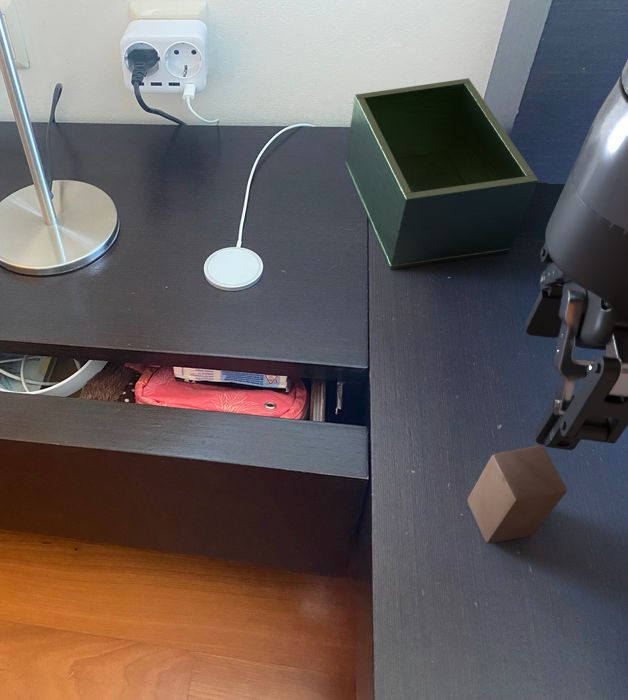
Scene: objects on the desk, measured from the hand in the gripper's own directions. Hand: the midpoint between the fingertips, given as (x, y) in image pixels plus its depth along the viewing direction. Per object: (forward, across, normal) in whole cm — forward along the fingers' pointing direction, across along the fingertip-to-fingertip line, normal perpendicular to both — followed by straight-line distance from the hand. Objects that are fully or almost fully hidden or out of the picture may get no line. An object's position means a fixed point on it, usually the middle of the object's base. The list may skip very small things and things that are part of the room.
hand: (546, 383), depth 46 cm
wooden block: (+17, -1, -2) cm, 17 cm away
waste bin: (+17, +36, +5) cm, 40 cm away
